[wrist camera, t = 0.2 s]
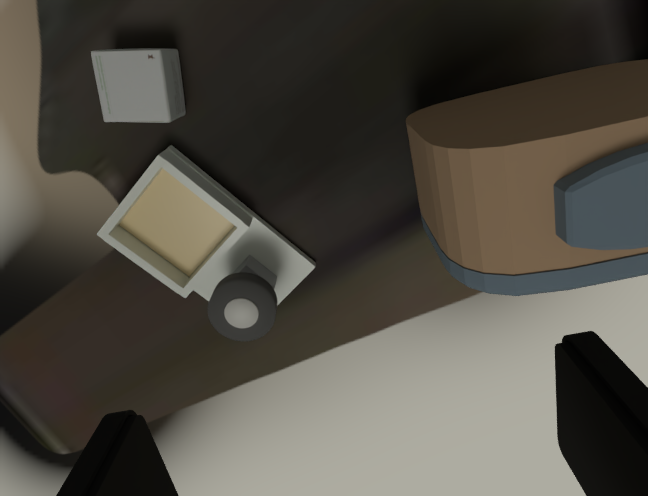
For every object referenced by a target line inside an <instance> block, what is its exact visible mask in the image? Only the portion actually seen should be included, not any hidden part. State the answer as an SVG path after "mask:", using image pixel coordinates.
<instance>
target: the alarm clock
mask: <svg viewBox="0 0 648 496" xmlns="http://www.w3.org/2000/svg"><path fill="white" fill-rule="evenodd" d="M406 125H407V131H408V137H409V144H410V150H411V156H412V162H413V168H414V174H415V181H416V187H417V193H418V199H419V205H420V211H421V218H422V223H423V227H424V229H425V231H426V233H427V235H428V237H429V239H430V241H431V242H432V244H433V246H434V248H435V250H436V252H437V254H438V255H439V257H440V259H441V261H442V263H443V265H444V266H445V268H446V269H447V270H448V272H449V273H450V274H451V275H452V277H454V278H455V279H457V280H459V281H460V282H462V283H463V284H465V285H466V286H468V287H470V288H473V289H476V290H479V291H483V292H486V293H490V294H501V295H512V296H520V295H529V294H538V293H547V292H555V291H564V290H571V289H576V288H581V287H586V286H591V285H596V284H601V283H606V282H611V281H617V280H621V279H627V278H632V277H637V276H642V275H647V274H648V59H645V60H636V61H626V62H620V63H613V64H607V65H601V66H596V67H591V68H586V69H582V70H577V71H572V72H567V73H563V74H558V75H554V76H550V77H545V78H541V79H537V80H533V81H529V82H524V83H520V84H516V85H512V86H507V87H503V88H499V89H495V90H490V91H486V92H482V93H478V94H473V95H469V96H465V97H461V98H458V99H454V100H450V101H446V102H443V103H439V104H435V105H432V106H429V107H426V108H423V109H421V110H418V111H416V112H414V113H412V114H410V115H409V116H408V117H407V119H406Z"/></svg>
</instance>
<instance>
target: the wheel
mask: <svg viewBox="0 0 648 496" xmlns="http://www.w3.org/2000/svg"><path fill="white" fill-rule="evenodd" d="M276 311H277V296H276V293H275V291H274V289H273V287H272V286H271V285H270V284H269V282H267V281H266V280H265V279H263V278H262V277H260V276H258V275H255V274H252V273H246V272H240V273H234V274H231V275H228V276H226V277H225V278H223V279H222V280H221V281H220V282H219V283H218V284H217V285H216V287H215V289H214V291H213V294H212V296H211V298H210V301H209V304H208V316H209V319H210V322H211V324H212V325H213V327H214V328H215V329H216V330H217V331H218V332H219V333H220V334H222V335H223V336H225V337H227V338H229V339H232V340H236V341H251V340H255V339H258V338H260V337H262V336H263V335H265V334H266V333H267V332H268V331H269V330H270V329H271V327H272V326H273V324H274V321H275V316H276Z"/></svg>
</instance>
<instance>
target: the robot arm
mask: <svg viewBox="0 0 648 496" xmlns="http://www.w3.org/2000/svg"><path fill="white" fill-rule="evenodd" d="M555 370H556V401H557V434H558V443H559V446H560V450H561V452H562V454H563V456H564V458H565V460H566V461H567V463H568V465H569V467H570V468H571V470H572V472H573V473H574V475H575V477H576V479H577V480H578V482H579V484H580V485H581V487H582V489H583V490H584V492H585V494H586V496H648V387H646V386H645V385H644V384H643V382H642V381H640V380H639V378H638V377H637V376H636V375H635V374H634V373H633V372H632V371H631V370H630V369H629V368H628V367H627V366H626V365H625V364H624V363H623V361H622V360H621V359H620V358H619V357H618V356H617V355H616V354H615V353H614V352H613V351H612V350H611V349H610V348H609V347H608V346H607V345H606V344H605V343H604V341H603V340H602V339H601V338H599V336H598V335H597V334H596V333H594V332H593V331H588V332H582V333H576V334H571V335H566V336H564V337H563V339H562V343H559V344H556V346H555ZM56 496H178V493H177V491H176V489H175V487H174V484H173V482H172V480H171V478H170V476H169V473H168V471H167V469H166V466H165V464H164V462H163V460H162V457H161V455H160V453H159V451H158V448H157V446H156V444H155V442H154V439H153V437H152V435H151V433H150V430H149V429H148V426H147V424H146V421H145V419H144V418H143V416H141V415H137V414H136V413H135V412H134V411H133V410H128V411H122V412H116V413H110V414H107V415H105V416H104V417H103V418H102V420H101V422H100V423H99V425H98V427H97V428H96V430H95V432H94V433H93V435H92V437H91V438H90V440H89V442H88V443H87V445H86V447H85V448H84V450H83V452H82V454H81V455H80V457H79V459H78V460H77V462H76V464H75V465H74V467H73V469H72V470H71V472H70V474H69V475H68V477H67V479H66V480H65V482H64V484H63V485H62V487H61V489H60V491H59V492H58V494H57V495H56Z"/></svg>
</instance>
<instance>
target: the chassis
mask: <svg viewBox="0 0 648 496" xmlns="http://www.w3.org/2000/svg"><path fill="white" fill-rule="evenodd" d="M97 235H98V236H100V237H101V238H102V239H103V240H104V241H105V242H107V243H108V244H110V245H111V246H112V247H114V248H115V249H117V250H118V251H119V252H121V253H122V254H124V255H125V256H126V257H128V258H129V259H130V260H132V261H133V262H135V263H136V264H137V265H139V266H140V267H142V268H143V269H144V270H146V271H147V272H149V273H150V274H151V275H153V276H154V277H155V278H157V279H158V280H160V281H161V282H162V283H164V284H165V285H167V286H168V287H169V288H171V289H172V290H173V291H175V292H176V293H178V294H180V295H181V296H183V297H184V298H186V297H187V296H188V295H189V294H190V293H191V292H192V290H194V291H196V292H197V293H198V294H200V295H201V296H202V297H204V298H205V299H206V300H208V301H210V298H211V296H212V294H213V291H214V289H215V287H216V285H217V284H218V283H219V282H220V281H221V280H222V279H223V278H225V277H226V276H228V275H231V274H234V273H240V272H246V273H252V274H255V275H258V276H260V277H262V278H263V279H265V280H266V281H267V282H269V284H270V285H271V286H272V287H273V289H274V291H275V293H276V296H277V305H278V304H279V303H280V302H281V301H282V300H283V299H284V298H285V297H286V296H287V295H288V294H289V293H290V292H291V291H292V290H293V289H294V288H295V287H296V286H297V285H298V284H299V283H300V282H301V281H302V280H303V279H304V278H305V277H306V276H307V275H308V274H309V273H310V272H311V271H312V270H313V269H314V268H315V267H316V263H315V262H314V261H313V260H312V259H311V258H309V257H308V256H307V255H306V254H304V253H303V252H302V251H301V250H300V249H298V248H297V247H296V246H295V245H293V244H292V243H291V242H290V241H289V240H287V239H286V238H285V237H284V236H282V235H281V234H280V233H279V232H277V231H276V230H275V229H274V228H273V227H271V226H270V225H269V224H268V223H266V222H265V221H264V220H263V219H262V218H260V217H259V216H258V215H257V214H255V213H254V212H253V211H252V210H251V209H249V208H248V207H247V206H246V205H244V204H243V203H242V202H241V201H239V200H238V199H237V198H236V197H235V196H233V195H232V194H231V193H230V192H228V191H227V190H226V189H225V188H224V187H222V186H221V185H220V184H219V183H217V182H216V181H215V180H214V179H212V178H211V177H210V176H209V175H208V174H206V173H205V172H204V171H203V170H201V169H200V168H199V167H198V166H197V165H195V164H194V163H193V162H192V161H190V160H189V159H188V158H187V157H186V156H184V155H183V154H182V153H181V152H179V151H178V150H177V149H176V148H174V147H173V146H172V145H170V146H169V147H168V148H167V149H166V150H164V151H163V152H161V153H160V154H158V156H157V157H156V158H155V160H154V161H153V162H152V163H151V165H150V166H149V167H148V169H147V170H146V171H145V172H144V174H143V175H142V176H141V178H140V179H139V180H138V182H137V183H136V184H135V185H134V187H133V188H132V189H131V191H130V192H129V193H128V194H127V196H126V197H125V198H124V200H123V201H122V202H121V203H120V205H119V206H118V207H117V209H116V210H115V211H114V213H113V214H112V215H111V216H110V218H109V219H108V220H107V222H106V223H105V224H104V225H103V227H102V228H101V229H100V231H99V232H98V233H97Z"/></svg>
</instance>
